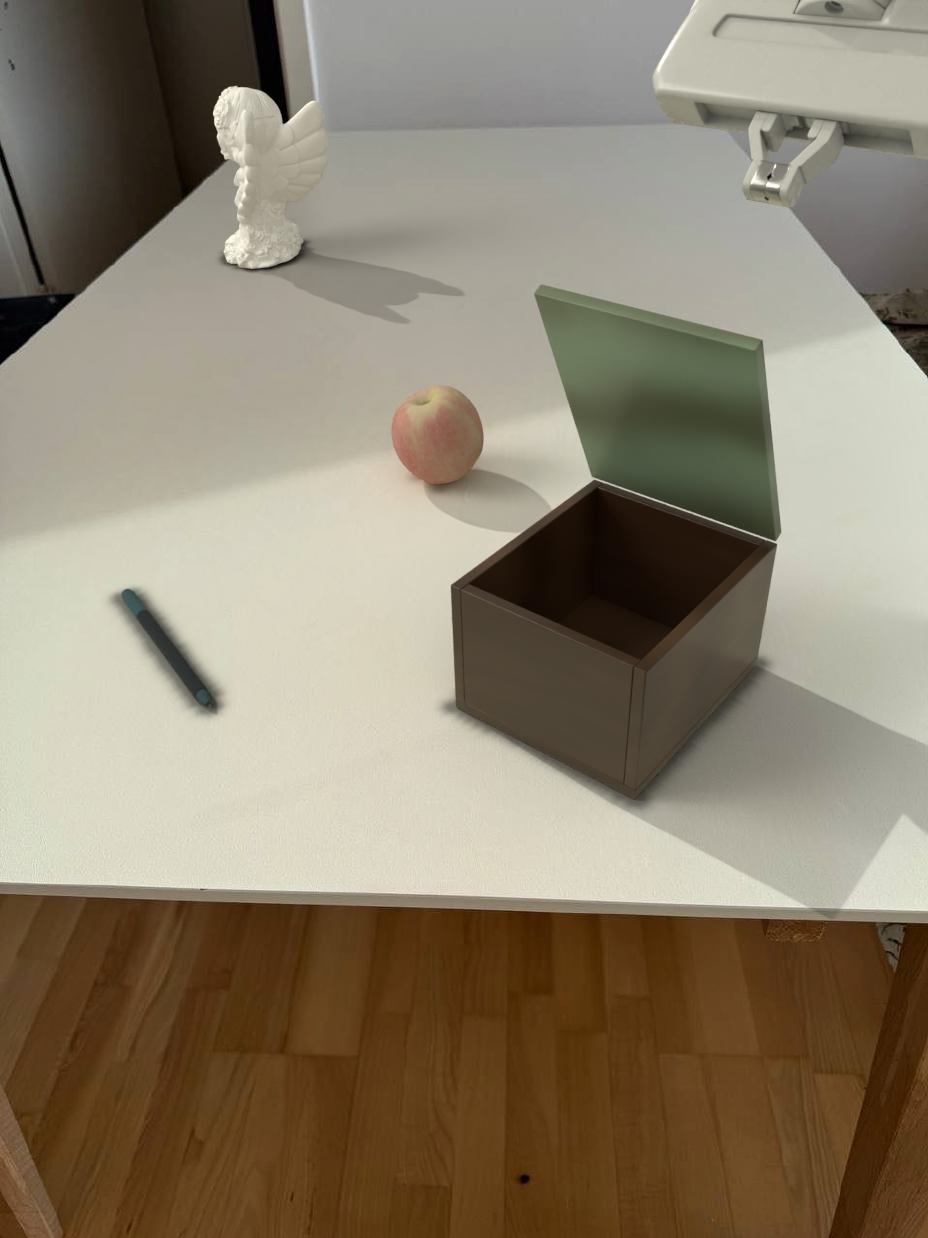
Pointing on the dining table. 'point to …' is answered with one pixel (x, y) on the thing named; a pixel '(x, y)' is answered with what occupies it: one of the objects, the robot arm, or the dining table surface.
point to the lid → (668, 407)
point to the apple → (437, 434)
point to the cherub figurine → (268, 171)
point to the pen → (167, 647)
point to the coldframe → (610, 631)
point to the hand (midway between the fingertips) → (766, 198)
